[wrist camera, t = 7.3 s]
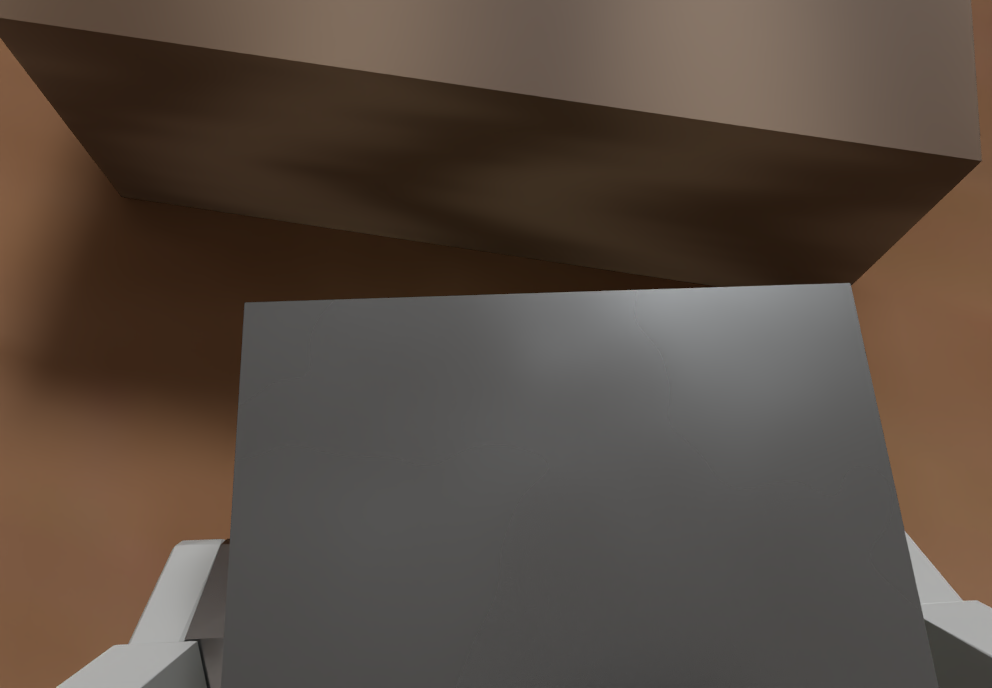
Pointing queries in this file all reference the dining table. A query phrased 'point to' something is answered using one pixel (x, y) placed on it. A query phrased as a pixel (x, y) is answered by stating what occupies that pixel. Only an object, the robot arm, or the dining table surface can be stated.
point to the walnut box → (532, 121)
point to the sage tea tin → (567, 495)
